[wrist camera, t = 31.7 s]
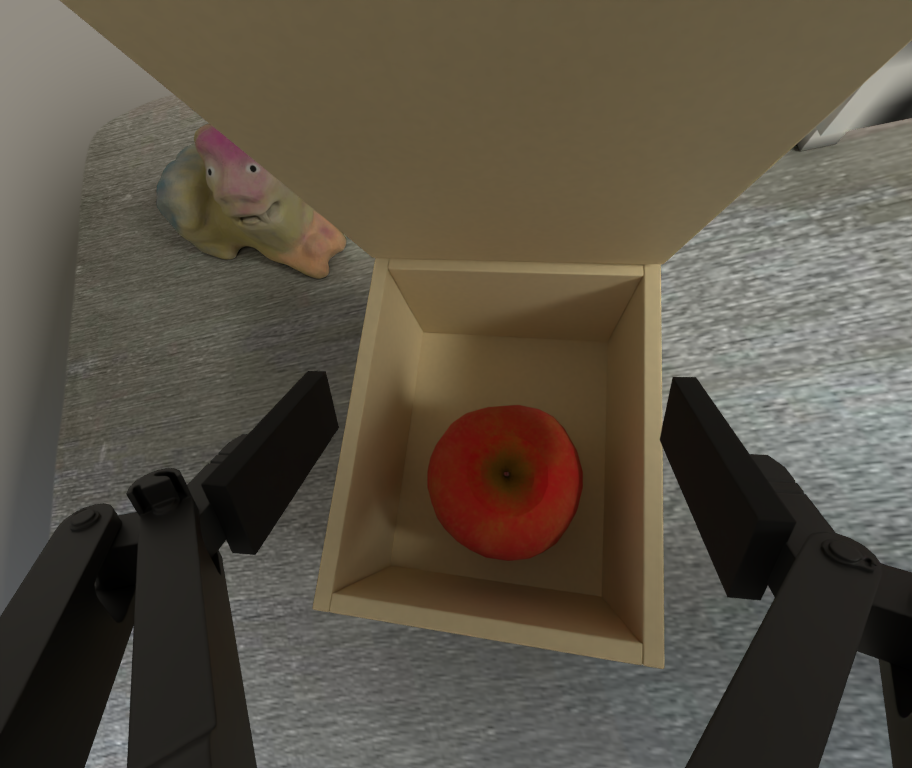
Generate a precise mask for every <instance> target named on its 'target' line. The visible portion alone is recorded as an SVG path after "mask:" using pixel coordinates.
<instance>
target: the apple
mask: <svg viewBox="0 0 912 768" xmlns="http://www.w3.org/2000/svg"><path fill="white" fill-rule="evenodd" d="M427 488H428V491H429V495H430V499H431V503H432V506H433V508H434V511H435V514H436V517H437V519H438V520H439V522H440V523H441V524H442V526H443V527H444V529H445V530H446V531H447V532H448V533H449V534H450V535H451V536H452V537H453V538H454V539H455V540H456V541H457V542H459V543H460V544H462V545H463V546H465V547H466V548H468V549H469V550H471V551H473V552H475V553H477V554H479V555H481V556H484V557H486V558H492V559H498V560H505V561H513V560H522V559H529V558H532V557H534V556H536V555H538V554H541V553H543V552H544V551H546V550H548V549H549V548H551V547H552V546H554V545H555V544H556V543H557V542H558V541H559V539H560V538H561V537H562V535H563V534H564V532H565V531H566V530H567V528H568V527H569V525H570V523H571V521H572V519H573V517H574V516H575V514H576V512H577V510H578V505H579V501H580V497H581V493H582V489H583V471H582V467H581V463H580V460H579V456H578V452H577V450H576V448H575V446H574V444H573V443H572V441H571V439H570V437H569V435H568V434H567V432H566V430H565V428H564V427H563V426H562V425H561V424H560V423H559V422H558V421H557V420H556V419H555V418H554V417H553V416H551V415H549V414H548V413H546V412H544V411H542V410H540V409H536V408H532V407H527V406H522V405H509V406H494V407H486V408H482V409H479V410H475V411H472V412H469V413H466V414H464V415H463V416H461V417H460V418H459V419H457V420H456V421H454V422H453V423H452V424H451V425H450V426H449V427H448V429H447V430H446V432H445V433H444V434H443V436H442V437H441V438H440V440H439V441H438V443H437V444H436V446H435V448H434V451H433V453H432V455H431V457H430V461H429V466H428V471H427Z"/></svg>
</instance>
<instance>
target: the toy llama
mask: <svg viewBox="0 0 912 768" xmlns="http://www.w3.org/2000/svg"><path fill="white" fill-rule="evenodd" d="M909 118H912V41H910V42H909V43H908V44H907V45H906V46H905V47H904V48H903V49H902V50H900V51H899V52H898V53H897V54H896V55H895V56H894V57H893V58H892V59H890V60H889V61H888V62H887V63H886V64H885V65H884V66H883V67H882V68H880V69H879V70H878V71H877V72H876V73H875V74H874V75H873V76H872V77H870V78H869V79H868V80H867V81H866V82H865V83H864V84H863V85H862V86H861V87H859V88H858V89H857V90H856V91H855V92H854V93H853V94H852V95H851V96H849V97H848V98H847V99H846V100H845V101H844V102H843V103H842V104H841V105H839V106H838V107H837V108H836V109H835V110H834V111H833V112H832V113H831V114H829V115H828V116H827V117H826V118H825V119H824V120H823V121H822V122H821V123H819V124H818V125H817V126H816V127H815V128H814V129H813V130H812V131H811V132H809V133H808V134H807V135H806V136H805V137H804V138H803V139H802V140H801V141H799V142H798V143H797V145H798V148H799V150H800V151H804V150H809V149H814V148H819V147H824V146H829V145H834V144H837V142H838V141H839V140H840V139H841V138H842V137H843V136H844V134H845V133H846V132H847V131H850V130H854V129H859V128H864V127H869V126H874V125H879V124H884V123H889V122H894V121H899V120H904V119H909Z"/></svg>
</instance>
